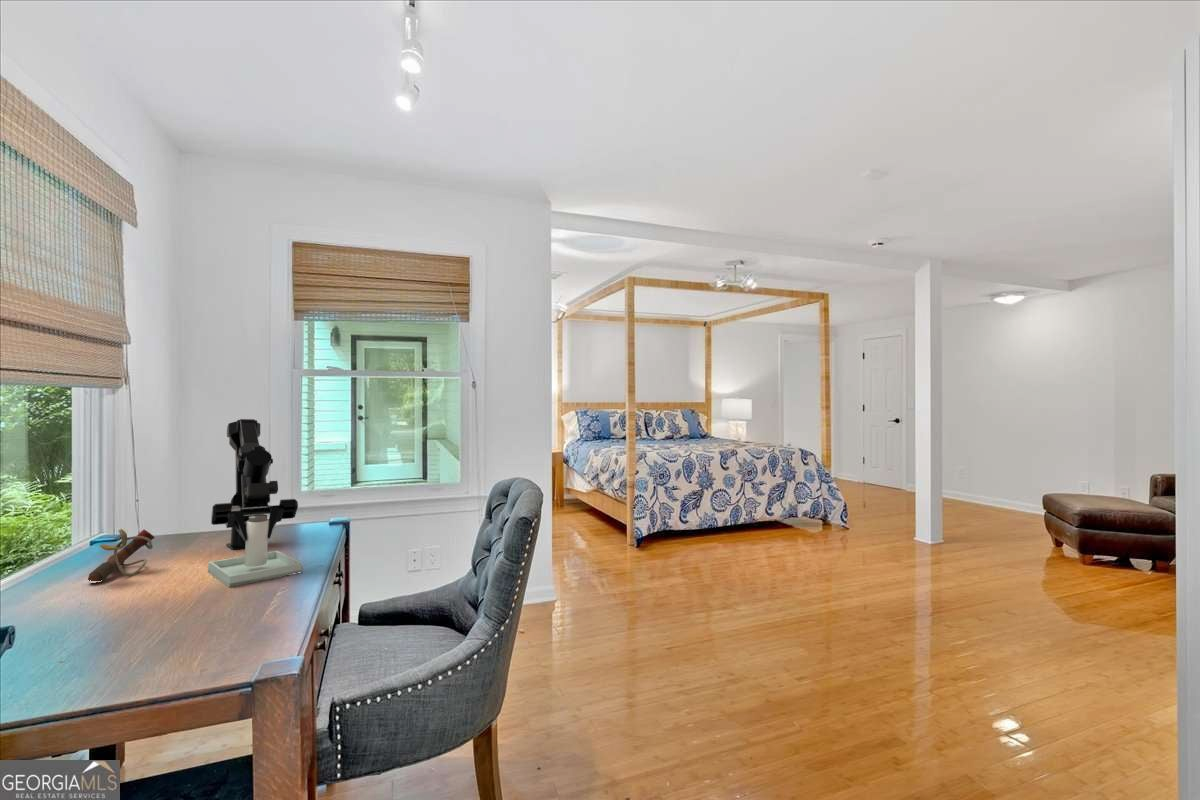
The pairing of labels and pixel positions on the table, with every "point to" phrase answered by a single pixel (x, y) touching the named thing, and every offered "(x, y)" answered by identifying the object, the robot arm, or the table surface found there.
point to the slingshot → (122, 555)
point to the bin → (253, 569)
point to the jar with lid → (256, 540)
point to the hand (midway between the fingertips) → (257, 539)
